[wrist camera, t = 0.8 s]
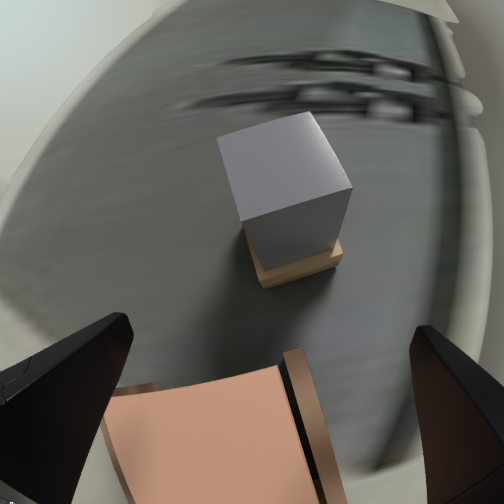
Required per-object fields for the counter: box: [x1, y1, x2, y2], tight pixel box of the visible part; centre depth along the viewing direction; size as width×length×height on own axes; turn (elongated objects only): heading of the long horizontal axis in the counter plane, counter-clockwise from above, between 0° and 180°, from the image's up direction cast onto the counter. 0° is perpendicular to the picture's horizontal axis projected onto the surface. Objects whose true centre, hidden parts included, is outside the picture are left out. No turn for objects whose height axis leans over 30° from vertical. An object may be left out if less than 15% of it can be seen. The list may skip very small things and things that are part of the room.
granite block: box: [217, 111, 353, 272], centre depth 16 cm, size 5×5×8 cm
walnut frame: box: [100, 347, 347, 504], centre depth 14 cm, size 12×13×8 cm
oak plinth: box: [243, 227, 343, 290], centre depth 22 cm, size 6×6×3 cm
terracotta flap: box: [104, 365, 319, 504], centre depth 11 cm, size 10×10×1 cm
